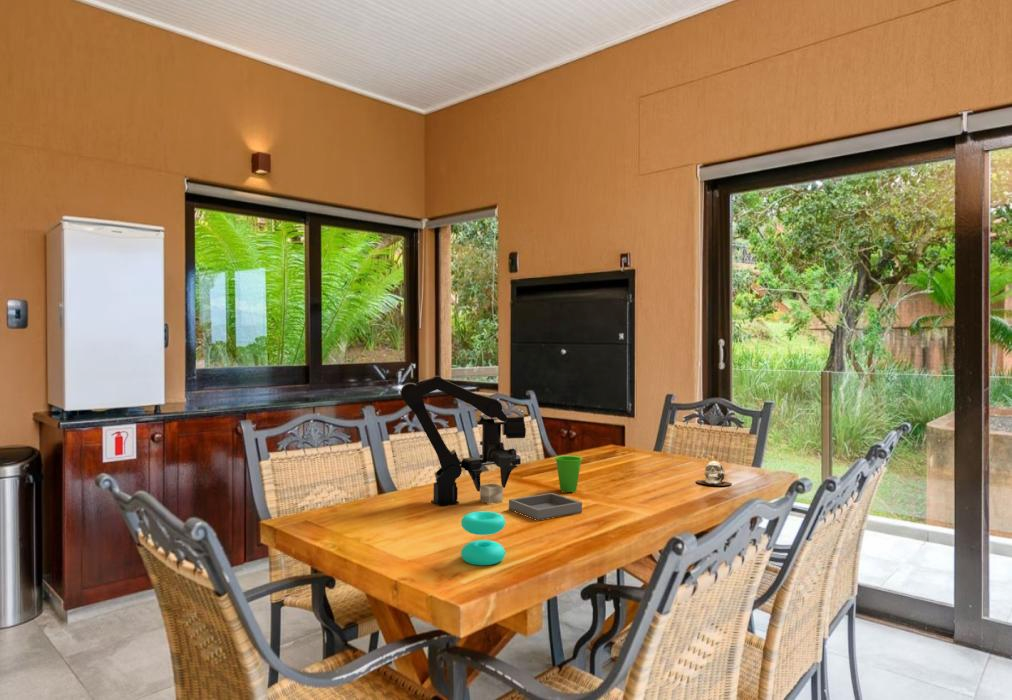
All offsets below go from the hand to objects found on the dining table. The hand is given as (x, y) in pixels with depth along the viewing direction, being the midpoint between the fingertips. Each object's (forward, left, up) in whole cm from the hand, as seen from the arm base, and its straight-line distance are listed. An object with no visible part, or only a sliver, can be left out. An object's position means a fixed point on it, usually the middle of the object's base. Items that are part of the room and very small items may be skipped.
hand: (491, 489), depth 198 cm
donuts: (-30, -43, -4) cm, 53 cm away
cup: (+29, -2, -4) cm, 29 cm away
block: (0, 0, -4) cm, 4 cm away
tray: (+7, -18, -4) cm, 20 cm away
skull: (+80, -21, -4) cm, 82 cm away
